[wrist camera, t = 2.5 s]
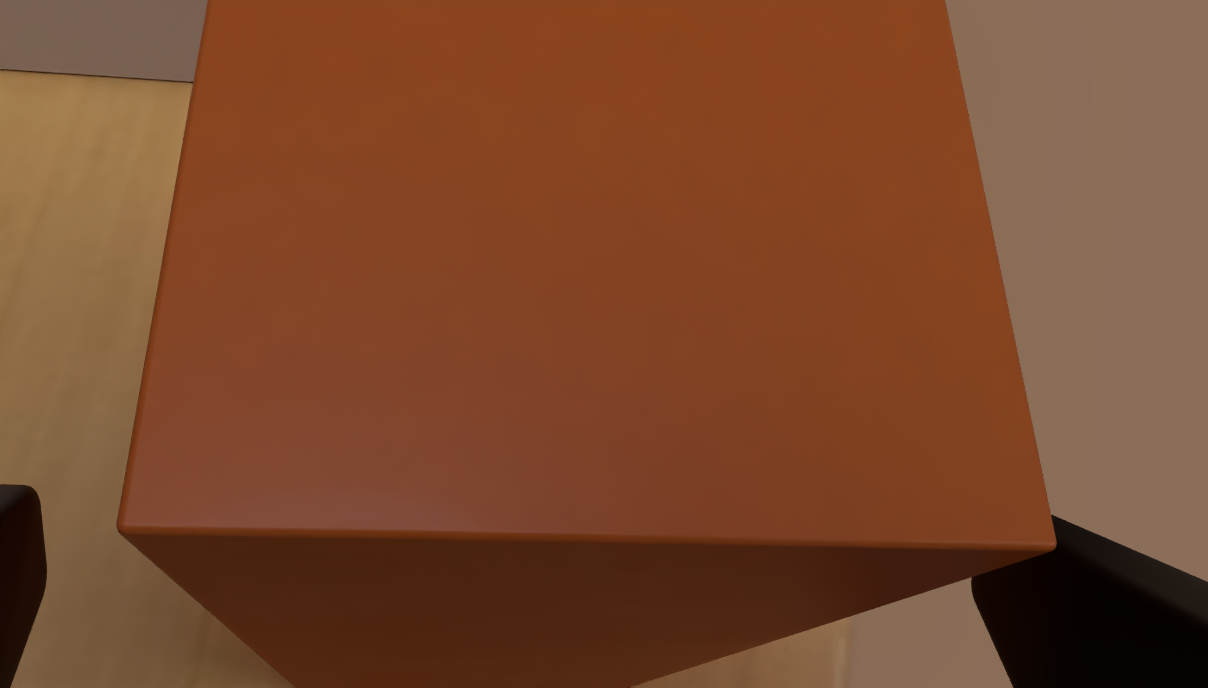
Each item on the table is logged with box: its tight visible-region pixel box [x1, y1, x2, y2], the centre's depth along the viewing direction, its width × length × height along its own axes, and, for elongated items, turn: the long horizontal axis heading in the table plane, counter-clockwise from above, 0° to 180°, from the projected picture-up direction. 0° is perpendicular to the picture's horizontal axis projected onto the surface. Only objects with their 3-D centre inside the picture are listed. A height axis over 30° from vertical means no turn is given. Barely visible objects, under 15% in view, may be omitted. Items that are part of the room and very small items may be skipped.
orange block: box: [116, 0, 1057, 688], centre depth 13 cm, size 6×6×13 cm
